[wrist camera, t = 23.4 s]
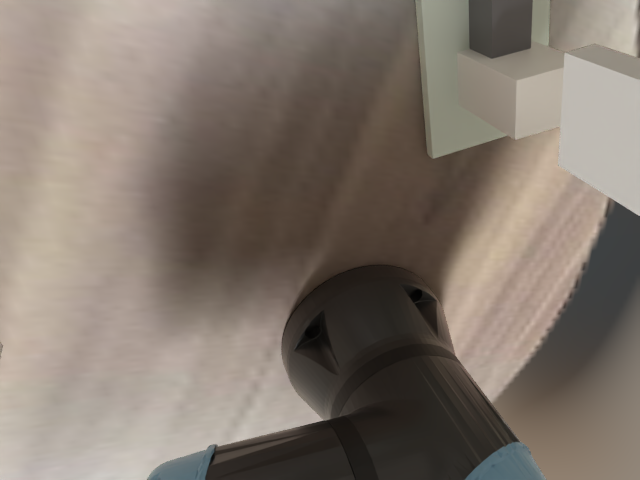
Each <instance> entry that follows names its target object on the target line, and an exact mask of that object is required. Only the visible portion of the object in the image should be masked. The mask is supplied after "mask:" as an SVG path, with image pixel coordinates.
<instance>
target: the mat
mask: <svg viewBox="0 0 640 480" xmlns="http://www.w3.org/2000/svg"><path fill="white" fill-rule="evenodd" d="M415 5H416V18H417V31H418V43H419V56H420V69H421V82H422V94H423V107H424V120H425V132H426V145H427V154H428V155H429V156H430V157H431V158H432V159H434V158H438V157H441V156H444V155H447V154H450V153H454V152H457V151H460V150H463V149H466V148H470V147H473V146H476V145H479V144H483V143H486V142H489V141H492V140H495V139H499V138H502V137H505V136H508V135H506V134H504V133H503V132H501V131H500V130H498V129H496V128H495V127H493V126H492V125H490V124H488V123H487V122H485V121H484V120H482V119H480V118H479V117H477V116H476V115H474V114H472V113H471V112H469V111H467V110H466V109H464V108H463V107H461V106H459V102H458V70H457V52H459V51H463V50H467V49H470V48H469V0H415ZM549 23H550V0H533V7H532V33H531V40H532V41H535V42H537V43H540V44H543V45H545V46H549Z"/></svg>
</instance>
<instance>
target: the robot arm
mask: <svg viewBox="0 0 640 480" xmlns="http://www.w3.org/2000/svg"><path fill="white" fill-rule="evenodd" d="M558 166H560V167H561V168H563V169H565V170H566V171H568V172H569V173H571V174H573V175H574V176H576V177H578V178H579V179H581V180H582V181H584V182H586V183H587V184H589V185H590V186H592V187H594V188H595V189H597V190H599V191H600V192H602V193H603V194H605V195H607V196H608V197H610V198H612V199H613V200H615V201H616V202H618V203H620V204H621V205H623V206H625V207H626V208H628V209H629V210H631V211H633V212H634V213H636V214H637V215H639V216H640V58H637V57H634V56H631V55H628V54H625V53H622V52H619V51H616V50H612V49H609V48H606V47H603V46H600V45H597V44H593V45H590V46H586V47H583V48H579V49H576V50H572V51H569V52H566V53H565V55H564V72H563V90H562V107H561V124H560V141H559V159H558ZM2 348H3V345H2V343H1V342H0V357H1V353H2ZM282 359H283V363H284V366H285V369H286V371H287V374H288V377H289V379H290V382H291V384H292V386H293V387H294V389H295V391H296V392H297V393H298V395H299V396H300V397H301V398H302V399H303V400H304V401H305V402H306V403H307V404H308V405H309V406H310V407H311V408H312V409H313V410H314V411H315V412H316V413H317V414H318V415H319V416H320V417H321V418H322V419H323V420H324V421H320V422H316V423H312V424H308V425H304V426H300V427H296V428H292V429H288V430H284V431H280V432H276V433H272V434H267V435H263V436H259V437H255V438H251V439H247V440H243V441H239V442H235V443H231V444H227V445H223V446H219V447H218V445H217V444H213V445H210V446H209V447H208V448H207V450H204V451H201V452H197V453H194V454H191V455H187V456H184V457H180V458H177V459H174V460H170V461H167V462H165V463H163V464H161V465H160V466H158V467H157V468H156V469H154V470H153V471H152V473H151V474H150V475H149V477H148V478H147V480H546V478H545V477H544V475H543V474H542V472H541V470H540V469H539V467H538V466H537V464H536V463H535V461H534V459H533V458H532V456H531V452H530V451H529V448H528V447H527V446H526V445H524V444H523V443H522V442H520V441H519V439H518V438H517V436H516V435H515V434H514V432H513V431H512V430H511V428H510V427H509V426H508V424H507V423H506V422H505V421H504V420H503V418H502V417H501V415H500V414H499V413H498V411H497V410H496V409H495V407H494V406H493V405H492V403H491V402H490V401H489V399H488V398H487V397H486V396H485V394H484V393H483V392H482V390H481V389H480V388H479V386H478V385H477V384H476V382H475V381H474V380H473V378H472V377H471V376H470V375H469V373H468V372H467V371H466V369H465V368H464V367H463V365H462V364H461V363H460V361H459V360H458V359H457V357H456V356H455V352H454V348H453V344H452V340H451V337H450V333H449V329H448V325H447V321H446V317H445V314H444V311H443V308H442V306H441V304H440V302H439V300H438V299H437V297H436V296H435V295H434V294H433V292H432V291H431V290H430V289H429V287H428V286H427V285H426V284H425V283H424V281H423V280H421V279H420V278H419V277H418V276H416V275H415V274H413V273H411V272H409V271H407V270H405V269H402V268H398V267H393V266H384V265H377V266H367V267H361V268H357V269H353V270H350V271H347V272H344V273H342V274H340V275H337V276H336V277H334V278H332V279H330V280H328V281H326V282H325V283H323V284H322V285H320V286H319V287H318V288H316V289H315V290H314V291H313V292H312V293H310V294H309V295H308V296H307V297H306V298H305V299H304V300H303V301H302V302H301V304H300V305H299V306H298V307H297V309H296V310H295V312H294V313H293V315H292V316H291V318H290V320H289V322H288V324H287V326H286V329H285V332H284V335H283V340H282Z"/></svg>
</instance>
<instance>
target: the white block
mask: <svg viewBox="0 0 640 480" xmlns="http://www.w3.org/2000/svg"><path fill="white" fill-rule="evenodd" d="M532 7H533V0H469V48H470V49H467V50H463V51H459V52H457V70H458V102H459V106H461V107H463V108H464V109H466V110H467V111H469V112H471V113H472V114H474V115H476V116H477V117H479V118H480V119H482V120H484V121H485V122H487V123H488V124H490V125H492V126H493V127H495V128H496V129H498V130H500V131H501V132H503V133H504V134H506V135H508V136H509V137H511V138H513V139H514V140H517V139H521V138H524V137H527V136H531V135H534V134H537V133H541V132H544V131H547V130H551V129H554V128H557V127H560V124H561V107H562V90H563V72H564V55H565V52H562V51H559V50H556V49H554V48H551V47H548V46H545V45H543V44H540V43H537V42H535V41H532V40H531V33H532Z"/></svg>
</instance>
